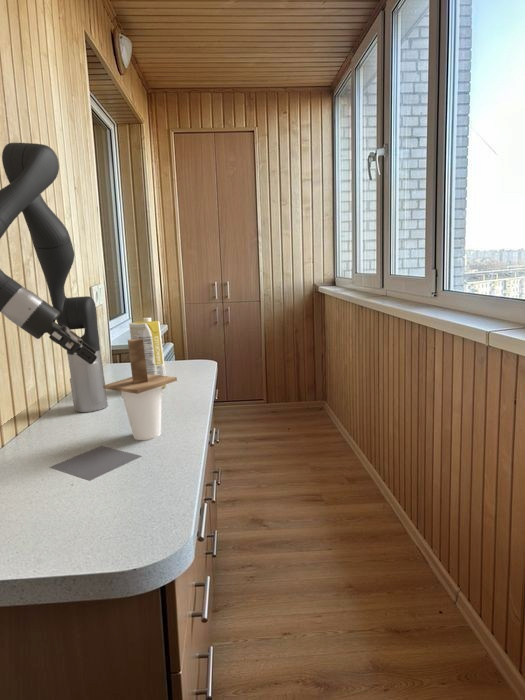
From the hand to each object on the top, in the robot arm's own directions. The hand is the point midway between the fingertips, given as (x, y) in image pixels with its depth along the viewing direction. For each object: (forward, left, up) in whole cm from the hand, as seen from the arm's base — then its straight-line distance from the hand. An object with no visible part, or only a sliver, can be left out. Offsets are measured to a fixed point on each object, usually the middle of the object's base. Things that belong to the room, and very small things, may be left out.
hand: (94, 357), depth 110 cm
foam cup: (+5, +8, -21) cm, 23 cm away
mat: (+7, -8, -21) cm, 24 cm away
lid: (+5, +8, -8) cm, 12 cm away
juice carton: (-30, +41, -21) cm, 55 cm away
